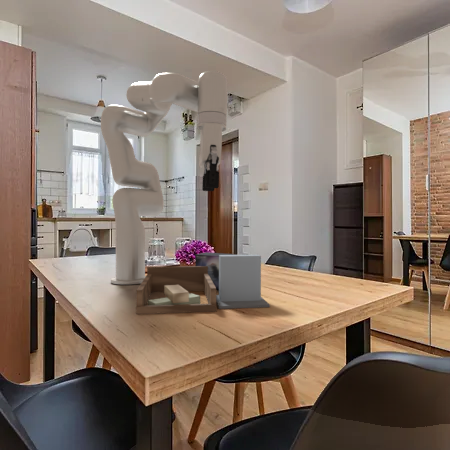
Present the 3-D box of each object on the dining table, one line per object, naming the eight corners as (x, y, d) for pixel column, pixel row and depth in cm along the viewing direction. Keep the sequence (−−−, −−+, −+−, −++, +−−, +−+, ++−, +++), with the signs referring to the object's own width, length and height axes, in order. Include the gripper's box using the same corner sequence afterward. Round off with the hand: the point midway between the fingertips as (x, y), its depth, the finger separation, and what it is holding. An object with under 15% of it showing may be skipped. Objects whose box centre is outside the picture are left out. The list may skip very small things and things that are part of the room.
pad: (213, 297, 86) (213, 295, 86) (257, 296, 88) (257, 293, 88) (218, 308, 74) (218, 306, 74) (269, 307, 76) (269, 304, 76)
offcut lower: (147, 311, 75) (147, 300, 75) (191, 303, 82) (191, 293, 82) (155, 314, 72) (155, 303, 72) (200, 306, 79) (200, 296, 79)
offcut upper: (173, 303, 72) (173, 293, 72) (164, 294, 81) (164, 285, 81) (188, 301, 73) (188, 292, 73) (178, 293, 82) (178, 284, 82)
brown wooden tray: (147, 291, 94) (147, 266, 94) (207, 289, 97) (207, 266, 97) (136, 314, 70) (136, 281, 70) (216, 311, 72) (216, 279, 72)
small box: (193, 288, 99) (193, 253, 99) (205, 284, 105) (205, 252, 105) (224, 291, 94) (224, 255, 94) (234, 287, 100) (234, 253, 100)
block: (218, 298, 82) (218, 254, 82) (257, 297, 84) (257, 254, 84) (220, 301, 79) (220, 256, 79) (260, 300, 80) (260, 255, 80)
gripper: (195, 130, 92) (193, 191, 92) (199, 111, 75) (197, 186, 75) (221, 132, 93) (219, 192, 93) (231, 113, 76) (229, 187, 76)
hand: (210, 189), depth 84 cm, fingers open, 9 cm apart
